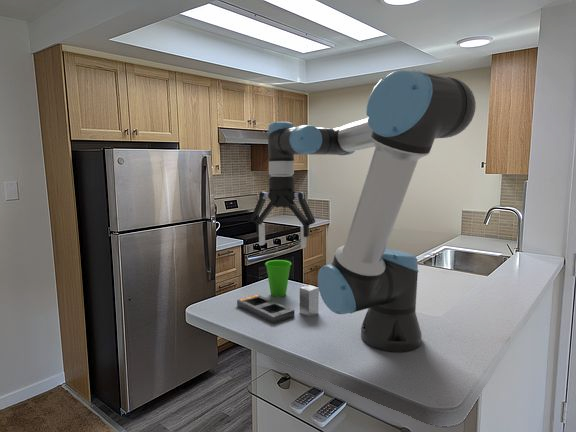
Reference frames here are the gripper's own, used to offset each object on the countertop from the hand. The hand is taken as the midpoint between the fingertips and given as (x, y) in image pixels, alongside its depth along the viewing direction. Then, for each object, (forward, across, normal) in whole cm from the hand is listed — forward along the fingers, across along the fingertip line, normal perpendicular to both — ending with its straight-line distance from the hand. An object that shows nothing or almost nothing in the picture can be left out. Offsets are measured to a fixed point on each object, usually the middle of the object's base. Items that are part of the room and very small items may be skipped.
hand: (282, 246), depth 119 cm
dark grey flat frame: (+20, +5, +4) cm, 21 cm away
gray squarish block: (+20, -8, 0) cm, 22 cm away
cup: (+20, +7, -12) cm, 24 cm away
